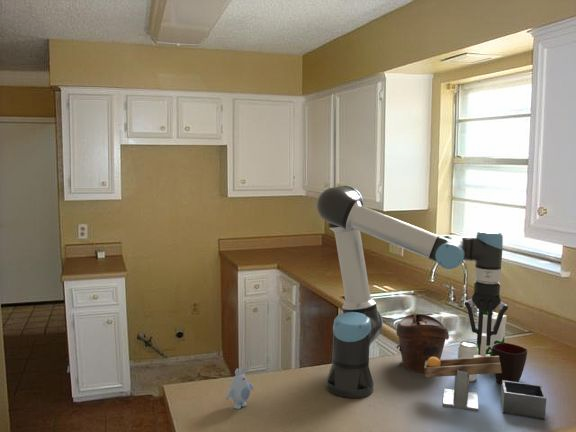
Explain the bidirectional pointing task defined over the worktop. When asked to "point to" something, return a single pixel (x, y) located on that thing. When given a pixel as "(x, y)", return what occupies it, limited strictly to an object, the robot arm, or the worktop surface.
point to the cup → (509, 361)
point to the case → (420, 340)
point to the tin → (523, 399)
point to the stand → (461, 393)
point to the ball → (433, 362)
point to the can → (468, 353)
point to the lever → (465, 366)
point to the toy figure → (239, 389)
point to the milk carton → (501, 331)
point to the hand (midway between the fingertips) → (482, 354)
